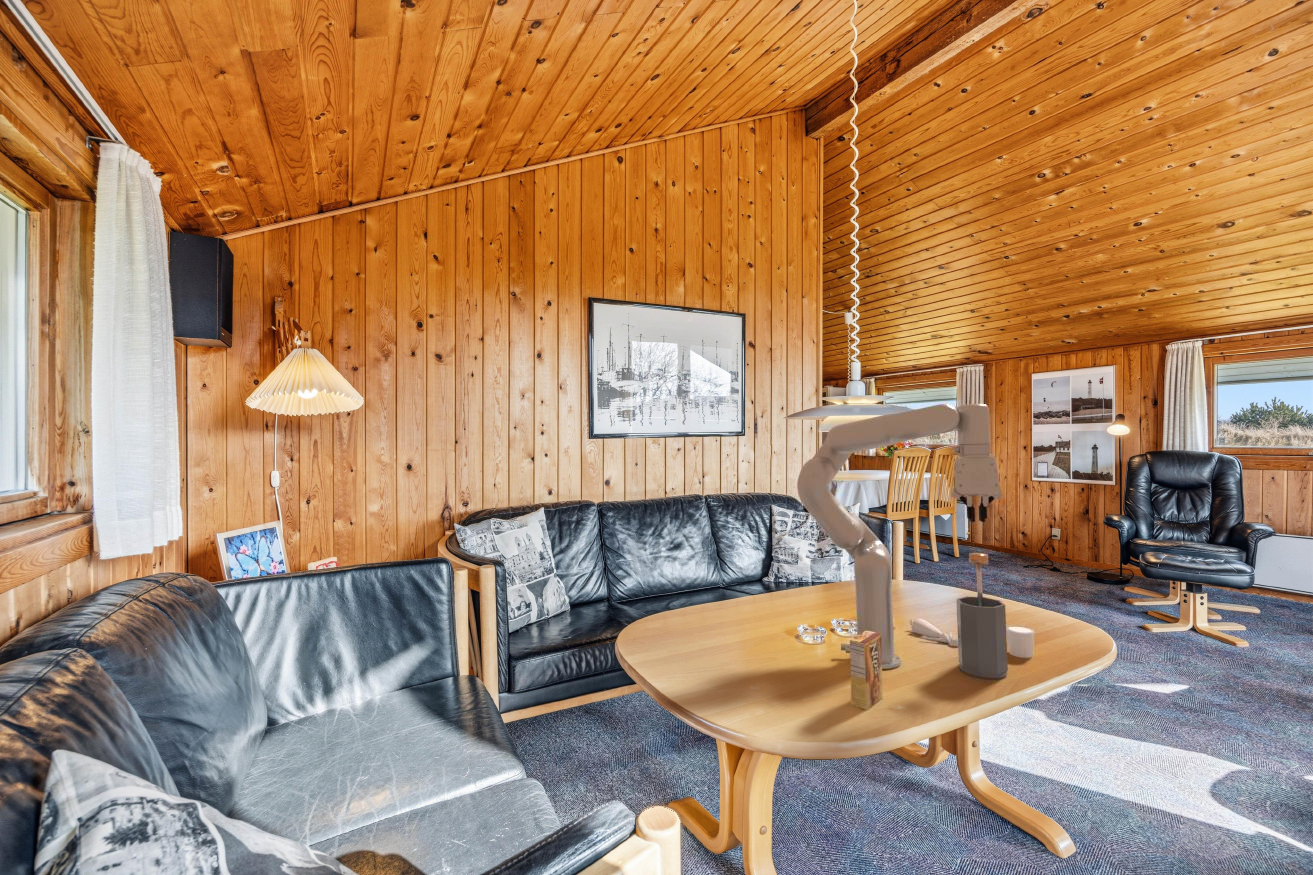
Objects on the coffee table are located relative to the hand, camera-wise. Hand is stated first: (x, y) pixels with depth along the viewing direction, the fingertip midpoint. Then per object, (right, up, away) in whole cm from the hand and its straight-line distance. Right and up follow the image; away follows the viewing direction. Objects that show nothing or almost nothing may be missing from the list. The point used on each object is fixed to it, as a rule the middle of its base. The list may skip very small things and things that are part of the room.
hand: (977, 520), depth 153 cm
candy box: (-34, -40, -16) cm, 55 cm away
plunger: (+1, -25, 0) cm, 25 cm away
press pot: (+2, -39, +1) cm, 39 cm away
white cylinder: (+18, -39, +10) cm, 44 cm away
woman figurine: (+1, -40, +26) cm, 48 cm away
